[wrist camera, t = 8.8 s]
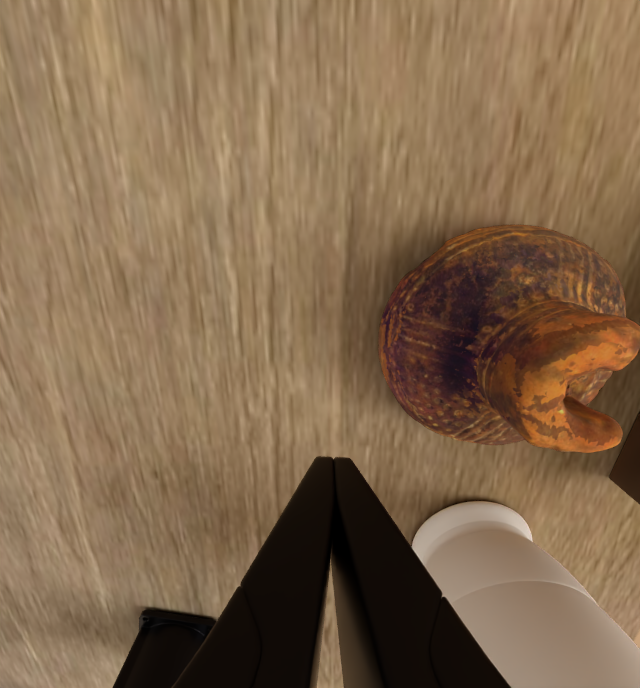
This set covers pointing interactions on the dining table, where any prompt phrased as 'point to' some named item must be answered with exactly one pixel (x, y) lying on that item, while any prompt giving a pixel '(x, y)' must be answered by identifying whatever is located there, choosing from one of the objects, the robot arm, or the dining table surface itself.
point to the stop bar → (629, 464)
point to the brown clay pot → (509, 340)
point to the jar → (523, 602)
